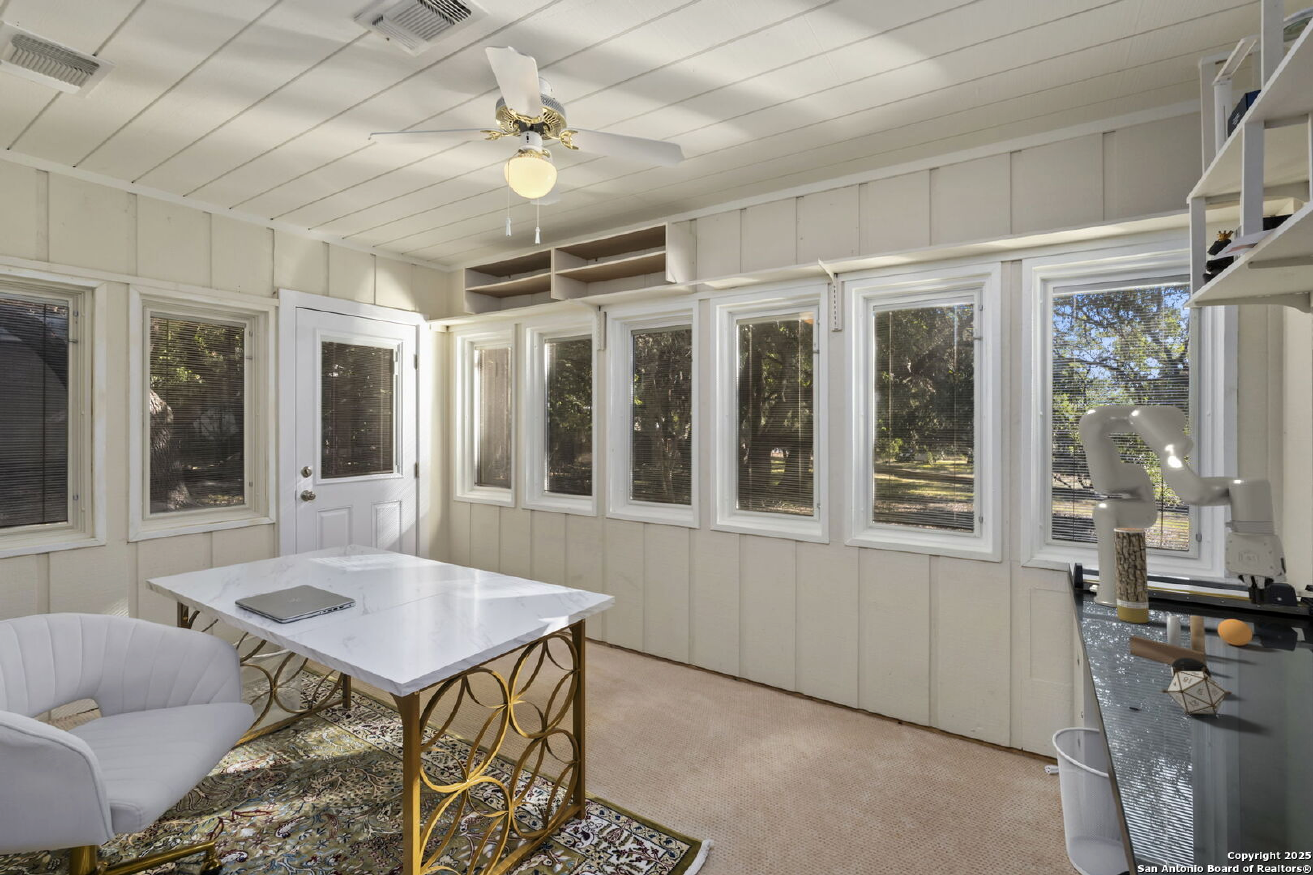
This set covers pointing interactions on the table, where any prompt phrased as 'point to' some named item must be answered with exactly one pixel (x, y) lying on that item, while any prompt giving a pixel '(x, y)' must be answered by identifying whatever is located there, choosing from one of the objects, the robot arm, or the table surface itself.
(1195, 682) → the game die
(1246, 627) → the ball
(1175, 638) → the grey pin
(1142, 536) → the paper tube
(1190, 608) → the table surface
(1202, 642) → the maple pin
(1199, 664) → the billiard ball
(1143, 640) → the brown wooden plank
